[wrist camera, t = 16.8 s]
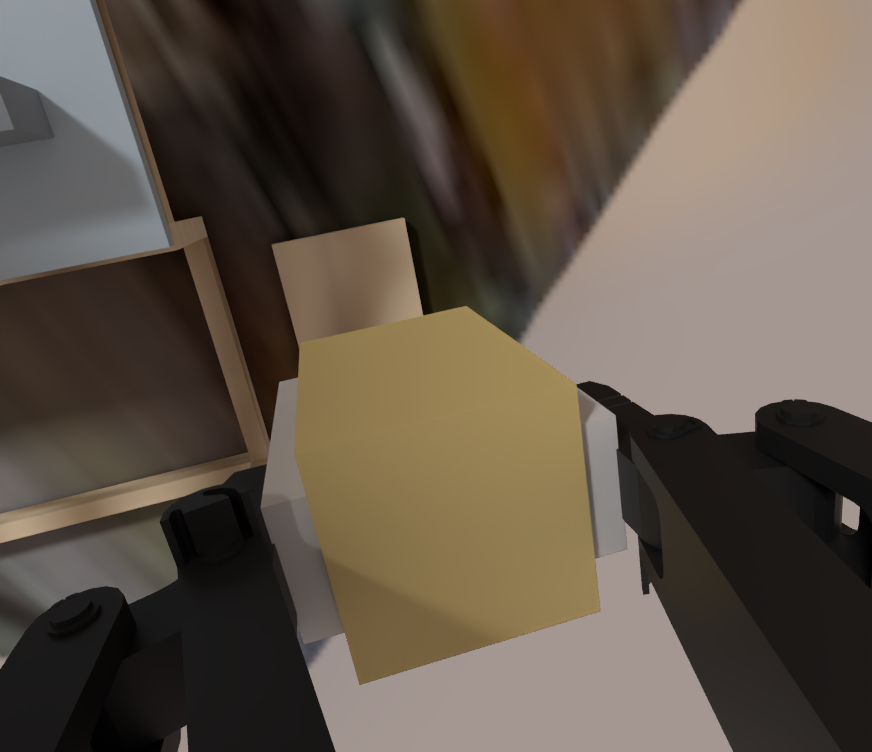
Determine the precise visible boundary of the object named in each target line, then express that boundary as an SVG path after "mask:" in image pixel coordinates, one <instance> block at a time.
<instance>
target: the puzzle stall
mask: <svg viewBox="0 0 872 752" xmlns="http://www.w3.org/2000/svg"><path fill="white" fill-rule="evenodd" d="M96 3H97V6H98V10H99V13H100V16H101V19H102V22H103V25H104V28H105V31H106V34H107V38H108V41H109V44H110V47H111V50H112V53H113V56H114V59H115V62H116V65H117V69H118V72H119V75H120V78H121V81H122V84H123V87H124V90H125V93H126V97H127V100H128V103H129V106H130V109H131V112H132V115H133V118H134V121H135V125H136V128H137V131H138V134H139V137H140V140H141V143H142V146H143V149H144V153H145V156H146V159H147V162H148V165H149V168H150V171H151V174H152V177H153V181H154V184H155V187H156V190H157V193H158V196H159V199H160V202H161V205H162V208H163V212H164V215H165V218H166V221H167V224H168V227H169V230H170V233H171V236H172V240H173V243H174V245H173V246H171V247H167V248H162V249H157V250H152V251H147V252H142V253H137V254H131V255H126V256H121V257H116V258H111V259H106V260H101V261H96V262H91V263H86V264H81V265H76V266H71V267H66V268H61V269H56V270H51V271H46V272H41V273H36V274H30V275H25V276H20V277H15V278H10V279H5V280H0V285H4V284H9V283H14V282H19V281H24V280H29V279H34V278H39V277H44V276H50V275H55V274H60V273H65V272H70V271H75V270H80V269H85V268H90V267H95V266H100V265H105V264H110V263H115V262H120V261H125V260H130V259H135V258H140V257H145V256H150V255H155V254H160V253H165V252H170V251H175V250H179V249H181V248H184V251H185V254H186V258H187V261H188V264H189V267H190V270H191V273H192V276H193V280H194V283H195V286H196V289H197V292H198V295H199V299H200V302H201V305H202V308H203V311H204V314H205V317H206V321H207V324H208V327H209V330H210V333H211V336H212V340H213V343H214V346H215V349H216V352H217V355H218V358H219V362H220V365H221V368H222V371H223V374H224V377H225V381H226V384H227V387H228V390H229V393H230V396H231V399H232V403H233V406H234V409H235V412H236V415H237V418H238V422H239V425H240V428H241V431H242V434H243V437H244V440H245V444H246V447H247V450H248V452H247V453H243V454H239V455H235V456H231V457H227V458H223V459H219V460H215V461H211V462H207V463H203V464H198V465H194V466H190V467H186V468H182V469H178V470H174V471H170V472H166V473H162V474H158V475H154V476H150V477H146V478H142V479H138V480H134V481H130V482H126V483H122V484H118V485H114V486H110V487H106V488H102V489H98V490H94V491H90V492H86V493H82V494H78V495H74V496H70V497H66V498H62V499H58V500H54V501H50V502H46V503H42V504H37V505H33V506H29V507H25V508H21V509H17V510H13V511H9V512H5V513H1V514H0V543H3V542H7V541H11V540H15V539H19V538H22V537H26V536H30V535H34V534H38V533H42V532H46V531H50V530H54V529H58V528H62V527H66V526H70V525H74V524H77V523H81V522H85V521H89V520H93V519H97V518H101V517H105V516H109V515H113V514H117V513H121V512H125V511H128V510H132V509H136V508H140V507H144V506H148V505H152V504H156V503H160V502H164V501H168V500H172V499H176V498H179V497H183V496H187V495H189V494H192V493H194V492H196V491H199V490H201V489H204V488H208V487H211V486H215V485H220V484H223V483H224V482H225V481H226V480H227V479H228V478H229V477H230V476H231V475H232V474H233V473H234V472H237V471H241V470H245V469H249V468H253V467H257V466H261V465H265V464H267V461H268V454H269V447H270V441H269V438H268V434H267V431H266V428H265V424H264V421H263V418H262V415H261V411H260V408H259V405H258V401H257V398H256V395H255V391H254V388H253V385H252V381H251V378H250V375H249V371H248V368H247V365H246V361H245V358H244V355H243V352H242V348H241V345H240V342H239V338H238V335H237V332H236V328H235V325H234V322H233V318H232V315H231V312H230V308H229V305H228V302H227V299H226V295H225V292H224V289H223V285H222V282H221V279H220V275H219V272H218V269H217V265H216V262H215V259H214V255H213V252H212V249H211V246H210V242H209V239H208V236H207V232H206V229H205V226H204V222H203V219H202V216H200V217H195V218H190V219H185V220H180V221H174V219H173V216H172V212H171V209H170V206H169V203H168V200H167V197H166V194H165V190H164V187H163V184H162V181H161V178H160V175H159V172H158V168H157V165H156V162H155V159H154V156H153V153H152V149H151V146H150V143H149V140H148V137H147V134H146V131H145V127H144V124H143V121H142V118H141V115H140V112H139V109H138V105H137V102H136V99H135V96H134V93H133V90H132V86H131V83H130V80H129V77H128V74H127V71H126V68H125V64H124V61H123V58H122V55H121V52H120V49H119V46H118V42H117V39H116V36H115V33H114V30H113V27H112V24H111V20H110V17H109V14H108V11H107V8H106V5H105V1H104V0H96Z"/></svg>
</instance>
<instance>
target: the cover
mask: <svg viewBox="0 0 872 752" xmlns="http://www.w3.org/2000/svg"><path fill="white" fill-rule="evenodd" d="M173 245H174V243H173V240H172V236H171V233H170V230H169V227H168V224H167V221H166V218H165V215H164V212H163V208H162V205H161V202H160V199H159V196H158V193H157V190H156V187H155V184H154V181H153V177H152V174H151V171H150V168H149V165H148V162H147V159H146V156H145V153H144V149H143V146H142V143H141V140H140V137H139V134H138V131H137V128H136V125H135V121H134V118H133V115H132V112H131V109H130V106H129V103H128V100H127V97H126V93H125V90H124V87H123V84H122V81H121V78H120V75H119V72H118V69H117V65H116V62H115V59H114V56H113V53H112V50H111V47H110V44H109V41H108V38H107V34H106V31H105V28H104V25H103V22H102V19H101V16H100V13H99V10H98V6H97V3H96V0H0V280H5V279H10V278H15V277H20V276H25V275H30V274H36V273H41V272H46V271H51V270H56V269H61V268H66V267H71V266H76V265H81V264H86V263H91V262H96V261H101V260H106V259H111V258H116V257H121V256H126V255H131V254H137V253H142V252H147V251H152V250H157V249H162V248H167V247H171V246H173Z"/></svg>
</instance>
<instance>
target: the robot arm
mask: <svg viewBox="0 0 872 752" xmlns="http://www.w3.org/2000/svg"><path fill="white" fill-rule="evenodd" d="M576 385H577V395H578V404H579V413H580V423H581V432H582V442H583V451H584V460H585V470H586V479H587V488H588V498H589V507H590V517H591V526H592V535H593V545H594V554H595V558H599V557H602V556H606V555H609V554H612V553H616V552H619V551H622V550H626V549H627V540H626V529H625V522H626V523H627V524H628V525H629V526H630V527H631V528H632V529H633V530H634V531H635V532H636V533H637V534H638V542H639V555H640V567H641V581H642V590H643V595H644V594H649V584H650V582H652V585H653V587H654V588H655V591H656V593H657V595H658V597H659V599H660V601H661V603H662V605H663V607H664V609H665V611H666V614H667V616H668V618H669V620H670V622H671V624H672V626H673V628H674V630H675V632H676V634H677V636H678V638H679V640H680V642H681V644H682V646H683V649H684V651H685V653H686V655H687V657H688V659H689V661H690V663H691V665H692V667H693V669H694V671H695V674H696V676H697V678H698V679H699V682H700V684H701V686H702V688H703V690H704V692H705V694H706V696H707V698H708V700H709V703H710V705H711V707H712V709H713V711H714V713H715V715H716V717H717V719H718V721H719V723H720V725H721V727H722V729H723V731H724V734H725V735H726V737H727V740H728V741H729V744H730V746H731V748H732V750H733V752H872V422H869V421H867V420H864V419H861V418H859V417H857V416H854V415H852V414H849V413H847V412H844V411H842V410H839V409H837V408H834V407H831V406H828V405H824V404H821V403H816V402H808V401H806V400H797V399H796V400H794V401H793V400H783V401H782V402H777V403H771V404H768V405H766V406H764V407H761V408H760V409H759V410H758V411H757V412H756V413H755V432H744V433H735V434H722V435H717V434H716V433H715V432H714V431H713V430H712V429H711V428H710V427H709V426H708V425H707V424H706V423H704V422H702V421H701V420H699V419H697V418H694V417H689V416H686V415H676V414H665V415H655V416H654V415H653V414H651V413H649V412H648V411H646V410H645V409H643V408H642V407H640V406H639V405H637V404H636V403H634V402H631V400H629V399H628V398H626V397H625V396H621V394H620V393H619V392H617V391H616V390H614V389H612V388H611V387H609V386H607V385H602V384H599V383H595V382H591V381H588V382H584V383H580V384H576ZM297 389H298V378H294V379H290V380H286V381H281V382H279V387H278V394H277V401H276V407H275V414H274V421H273V427H272V434H271V441H270V447H269V454H268V461H267V464H265V465H261V466H257V467H253V468H249V469H245V470H241V471H237V472H234V473H233V474H232V475H231V476H230V477H229V478H228V479H227V480H226V481H225V482H224V483H223V484H220V485H215V486H211V487H208V488H204V489H201V490H199V491H196V492H194V493H192V494H189V495H187V496H185V497H184V498H182V499H180V500H179V501H177V502H176V503H174V504H172V505H171V506H170V507H169V508H168V509H167V510H166V511H165V512H164V513H163V515H162V518H161V520H160V524H161V527H162V529H163V532H164V534H165V537H166V540H167V542H168V545H169V547H170V550H171V552H172V555H173V558H174V560H175V563H176V565H177V569H178V579H177V580H176V581H175V582H173V583H172V584H170V585H168V586H166V587H165V588H163V589H161V590H159V591H157V592H155V593H153V594H151V595H148V596H146V597H144V598H142V599H140V600H137V601H135V602H133V603H131V604H129V605H128V603H127V601H126V599H125V596H124V595H123V593H122V592H121V591H120V590H119V589H118V588H113V587H108V586H106V587H99V588H93V589H89V590H86V591H83V592H80V593H75V594H72V595H70V596H68V597H66V599H65V600H63V599H62V600H60V601H59V602H57V603H55V604H54V605H53V606H52V607H51V608H50V609H48V610H47V611H46V612H44V613H43V614H42V615H40V616H39V617H38V618H37V619H36V620H35V621H34V622H33V623H32V624H31V625H30V626H29V628H28V629H27V630H26V631H25V632H24V634H23V636H22V637H21V639H20V640H19V642H18V643H17V645H16V646H15V648H14V649H13V651H12V652H11V654H10V655H9V657H8V658H7V660H6V661H5V663H4V664H3V666H2V667H1V669H0V752H177V751H178V747H179V744H180V739H181V728H182V727H184V726H186V725H187V737H188V752H335V749H334V746H333V743H332V740H331V737H330V734H329V731H328V728H327V725H326V722H325V719H324V716H323V713H322V710H321V707H320V704H319V701H318V698H317V696H316V692H315V690H314V686H313V683H312V680H311V678H310V674H309V671H308V668H307V665H306V662H305V660H304V657H303V654H302V651H301V648H300V645H299V642H298V639H297V624H298V627H299V630H300V633H301V636H302V639H303V642H304V644H307V643H311V642H314V641H318V640H321V639H324V638H328V637H331V636H335V635H338V634H341V633H345V631H344V628H343V624H342V621H341V617H340V614H339V610H338V607H337V603H336V600H335V596H334V593H333V589H332V585H331V582H330V578H329V575H328V571H327V568H326V564H325V561H324V557H323V554H322V550H321V547H320V543H319V540H318V536H317V533H316V529H315V526H314V522H313V518H312V515H311V511H310V508H309V504H308V501H307V497H306V494H305V490H304V487H303V483H302V480H301V476H300V473H299V469H298V466H297V462H296V458H295V455H294V447H295V428H296V409H297ZM843 496H844V497H845V498H847V499H849V500H851V501H852V502H854V503H855V504H857V505H858V506H859V507H860V516H859V526H858V530H854V529H852V528H850V527H848V526H847V525H845V524H843V523H842V504H843Z"/></svg>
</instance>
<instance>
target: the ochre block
mask: <svg viewBox="0 0 872 752" xmlns="http://www.w3.org/2000/svg"><path fill="white" fill-rule="evenodd" d="M294 455H295V458H296V462H297V466H298V469H299V473H300V476H301V480H302V483H303V487H304V490H305V494H306V497H307V501H308V504H309V508H310V511H311V515H312V518H313V522H314V526H315V529H316V533H317V536H318V540H319V543H320V547H321V550H322V554H323V557H324V561H325V564H326V568H327V571H328V575H329V578H330V582H331V585H332V589H333V593H334V596H335V600H336V603H337V607H338V610H339V614H340V617H341V621H342V624H343V628H344V631H345V635H346V638H347V642H348V645H349V649H350V652H351V656H352V660H353V663H354V667H355V670H356V673H357V677H358V681H359V684H360V685H361V684H364V683H368V682H371V681H374V680H377V679H380V678H383V677H387V676H390V675H394V674H397V673H400V672H403V671H407V670H410V669H413V668H416V667H420V666H423V665H426V664H430V663H432V662H436V661H439V660H442V659H446V658H449V657H452V656H456V655H459V654H462V653H466V652H469V651H472V650H475V649H479V648H482V647H485V646H488V645H492V644H495V643H498V642H501V641H505V640H508V639H511V638H514V637H518V636H521V635H524V634H528V633H531V632H534V631H537V630H541V629H544V628H547V627H550V626H554V625H557V624H560V623H563V622H567V621H570V620H573V619H576V618H579V617H583V616H586V615H589V614H593V613H596V612H599V611H600V601H599V592H598V582H597V573H596V564H595V554H594V545H593V535H592V526H591V517H590V507H589V498H588V488H587V479H586V470H585V460H584V451H583V442H582V432H581V423H580V413H579V404H578V395H577V385H576V383H574V382H573V381H571V380H570V379H569V378H567V377H566V376H565V375H563V374H562V373H560V372H559V371H557V370H556V369H555V368H553V367H552V366H550V365H549V364H548V363H546V362H545V361H543V360H542V359H541V358H539V357H538V356H536V355H535V354H533V353H532V352H531V351H529V350H528V349H526V348H525V347H524V346H522V345H521V344H519V343H518V342H516V341H515V340H514V339H512V338H511V337H509V336H508V335H507V334H505V333H504V332H502V331H501V330H499V329H498V328H497V327H495V326H494V325H492V324H491V323H490V322H488V321H487V320H485V319H484V318H482V317H481V316H480V315H478V314H477V313H475V312H474V311H473V310H471V309H470V308H468V307H467V306H464V307H460V308H455V309H451V310H446V311H442V312H437V313H433V314H428V315H424V316H419V317H415V318H410V319H406V320H401V321H397V322H392V323H388V324H383V325H379V326H374V327H370V328H365V329H361V330H356V331H352V332H347V333H343V334H338V335H334V336H329V337H325V338H320V339H316V340H311V341H307V342H302V343H300V351H299V370H298V389H297V409H296V428H295V447H294Z"/></svg>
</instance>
